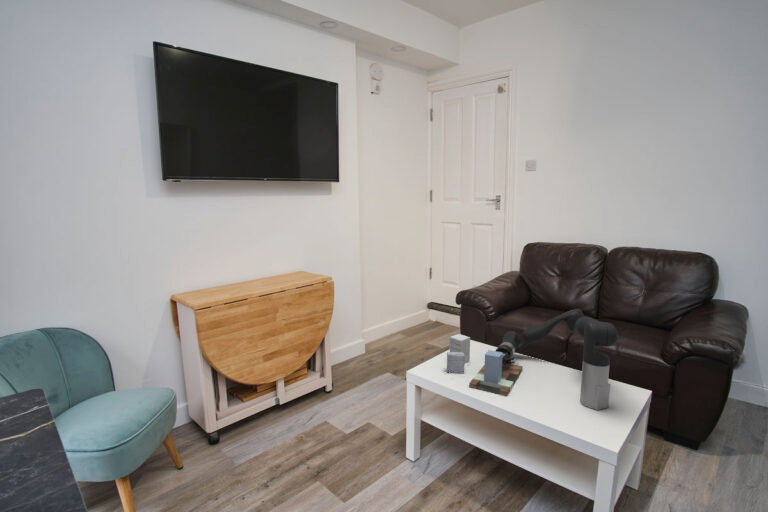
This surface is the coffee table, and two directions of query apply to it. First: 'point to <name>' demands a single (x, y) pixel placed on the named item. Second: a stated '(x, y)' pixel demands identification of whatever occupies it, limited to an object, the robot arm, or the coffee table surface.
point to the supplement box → (460, 345)
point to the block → (493, 366)
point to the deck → (508, 373)
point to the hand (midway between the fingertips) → (495, 364)
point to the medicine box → (455, 362)
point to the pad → (499, 385)
